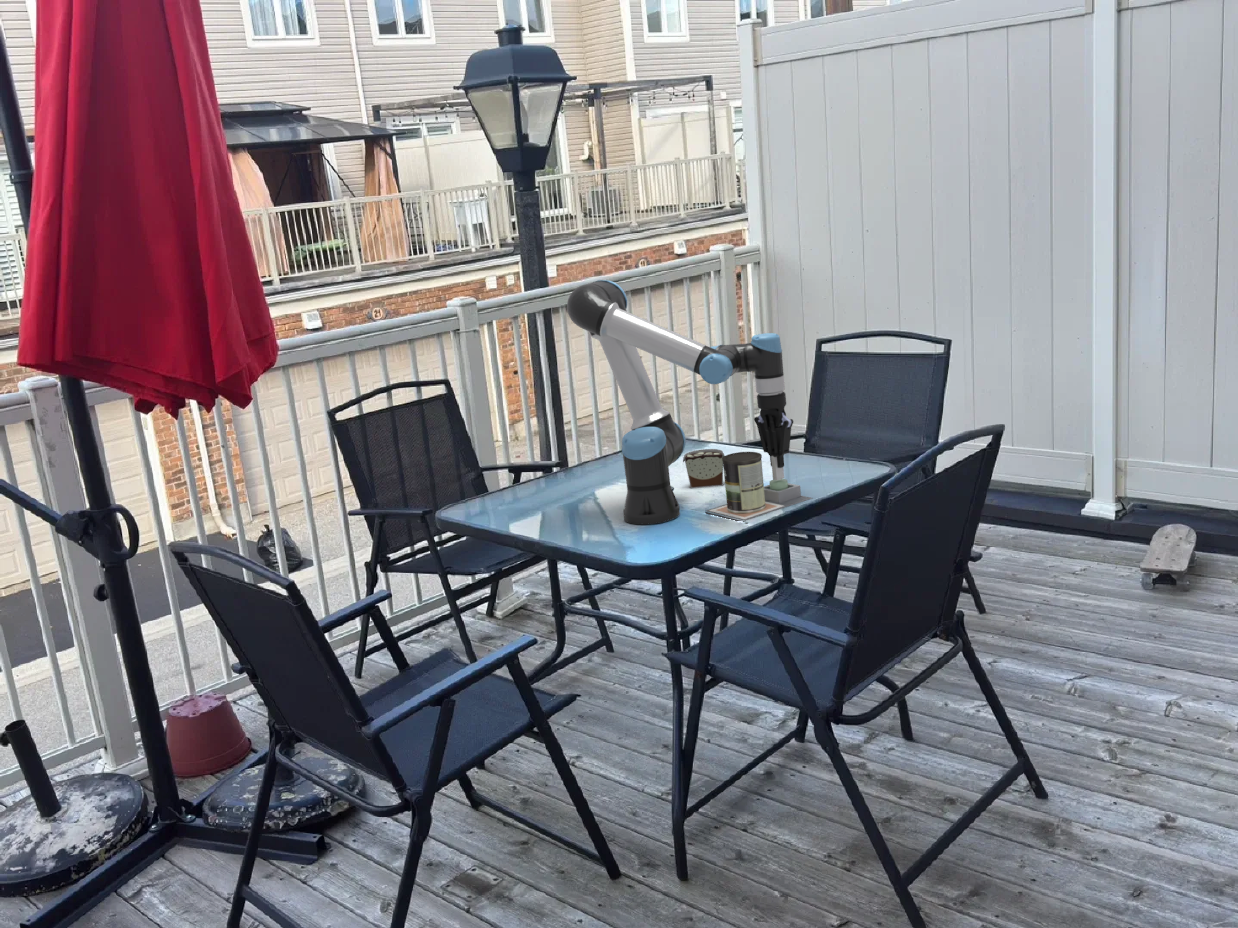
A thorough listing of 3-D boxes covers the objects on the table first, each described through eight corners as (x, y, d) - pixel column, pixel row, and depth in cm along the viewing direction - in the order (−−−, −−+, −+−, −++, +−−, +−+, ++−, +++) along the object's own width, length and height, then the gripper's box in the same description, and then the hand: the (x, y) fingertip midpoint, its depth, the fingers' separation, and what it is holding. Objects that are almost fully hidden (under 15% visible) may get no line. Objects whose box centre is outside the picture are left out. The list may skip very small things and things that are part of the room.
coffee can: (722, 514, 284) (717, 461, 280) (732, 502, 293) (727, 452, 290) (761, 513, 280) (756, 460, 277) (769, 502, 289) (765, 450, 286)
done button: (779, 496, 289) (778, 484, 289) (766, 494, 293) (765, 482, 292) (792, 492, 292) (791, 480, 291) (779, 490, 296) (778, 477, 295)
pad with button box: (745, 523, 276) (744, 509, 275) (705, 513, 289) (704, 499, 288) (813, 500, 289) (812, 487, 288) (771, 492, 302) (770, 479, 301)
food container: (728, 479, 321) (724, 446, 319) (728, 485, 315) (724, 451, 313) (686, 483, 323) (683, 450, 320) (685, 488, 317) (682, 455, 314)
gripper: (798, 391, 283) (806, 478, 288) (764, 388, 294) (772, 472, 299) (777, 396, 279) (785, 485, 284) (743, 393, 290) (752, 479, 295)
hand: (778, 478), depth 292 cm, fingers closed
